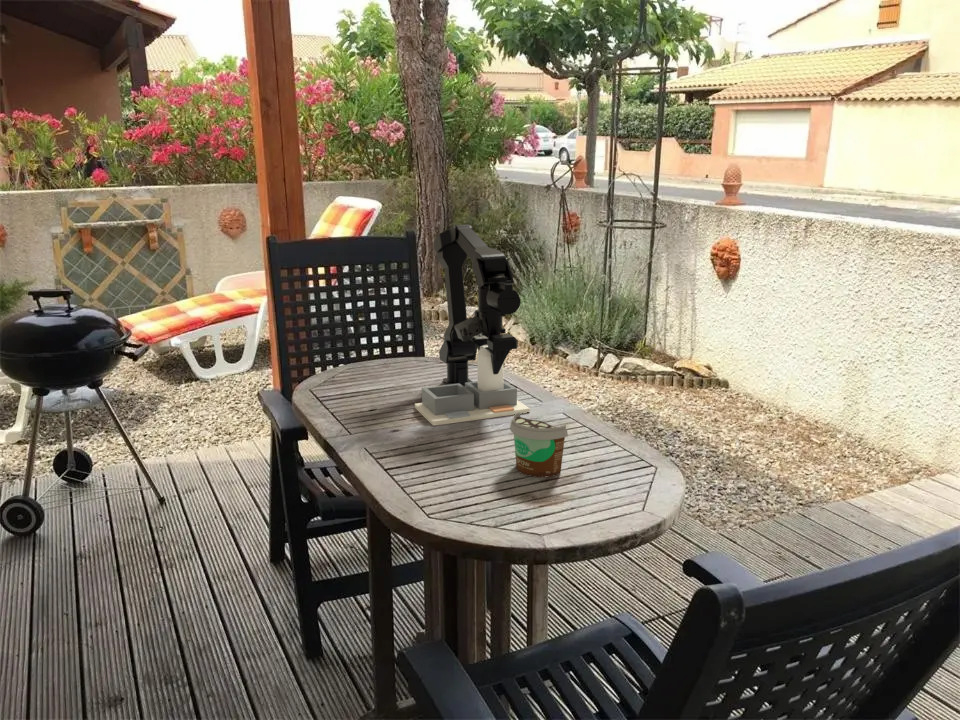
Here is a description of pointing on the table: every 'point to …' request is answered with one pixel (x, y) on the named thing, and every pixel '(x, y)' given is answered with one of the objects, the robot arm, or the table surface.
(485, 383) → the beverage can
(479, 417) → the socket board
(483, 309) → the robot arm
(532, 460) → the food container
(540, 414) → the table surface
